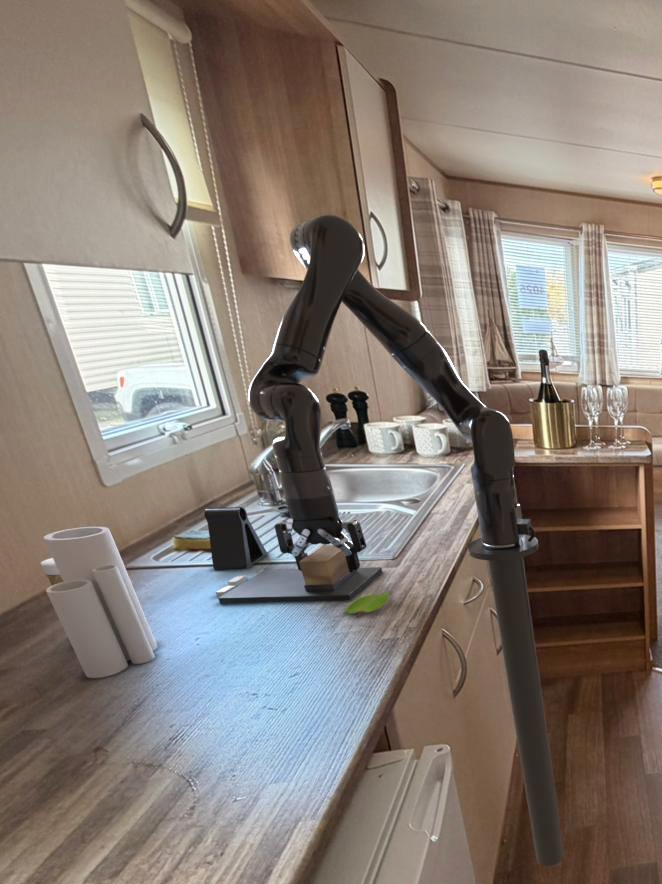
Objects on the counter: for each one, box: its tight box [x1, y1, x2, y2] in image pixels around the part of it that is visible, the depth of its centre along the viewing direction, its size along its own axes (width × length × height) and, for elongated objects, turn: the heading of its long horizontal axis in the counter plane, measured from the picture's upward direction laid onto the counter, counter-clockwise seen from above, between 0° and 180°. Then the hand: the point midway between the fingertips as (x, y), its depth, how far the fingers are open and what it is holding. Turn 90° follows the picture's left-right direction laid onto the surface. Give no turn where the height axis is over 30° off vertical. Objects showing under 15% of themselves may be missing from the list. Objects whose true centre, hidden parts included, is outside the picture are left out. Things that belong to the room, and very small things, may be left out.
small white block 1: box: [215, 585, 236, 598], centre depth 123 cm, size 2×3×1 cm, turn 10°
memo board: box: [218, 566, 383, 605], centre depth 127 cm, size 22×15×1 cm
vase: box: [43, 526, 158, 679], centre depth 96 cm, size 11×7×20 cm, turn 31°
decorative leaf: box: [346, 592, 390, 618], centre depth 121 cm, size 8×9×1 cm
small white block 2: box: [227, 575, 248, 587], centre depth 128 cm, size 2×3×1 cm, turn 10°
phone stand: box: [204, 506, 268, 570], centre depth 135 cm, size 9×6×12 cm, turn 15°
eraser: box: [299, 544, 357, 591], centre depth 127 cm, size 5×10×6 cm, turn 10°
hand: (330, 571), depth 127 cm, fingers open, 8 cm apart
